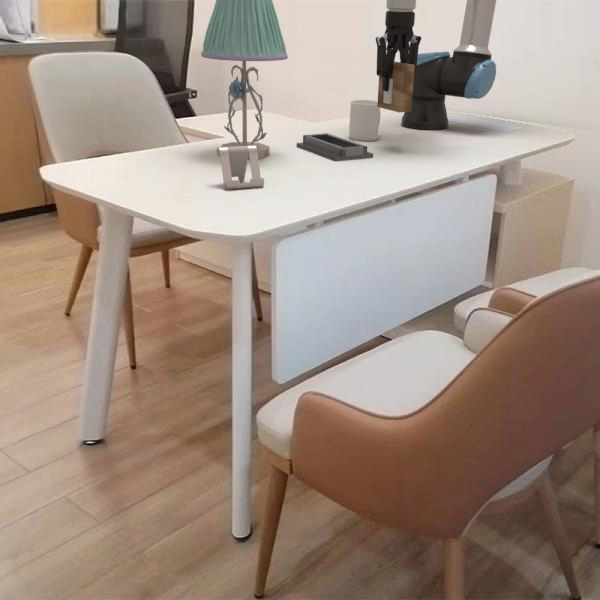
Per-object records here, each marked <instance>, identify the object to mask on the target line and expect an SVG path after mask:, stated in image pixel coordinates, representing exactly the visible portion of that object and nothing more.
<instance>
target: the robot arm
mask: <svg viewBox="0 0 600 600" xmlns="http://www.w3.org/2000/svg"><path fill="white" fill-rule="evenodd" d="M416 4H417V0H386V6H385V7H386V9H387V11H386V12H385V20H384V21H385V22H384V23H385V32H384V34H383V35H381V36H376V37H375V43H376V47H377V48H376V76H378V77H379V76H380V77H382V78H383V83H382V90H383V91H384V99H383V103H386V104H391V103H392V88H393V79H391V74H392V69H393V65H394V61H395V59H396V56H397V55H396V54H397V53H398V52H399V62H401V63H407V64H412V65H415V68H414V82H413V95H412V108H411V112H403V115H402V117H401V122H400V125H401V126H402V127H405V128H409V129H414V130H427V131H428V130H432V131H433V130H436V131H437V130H443V129H447V128H448V127H449V119H448V118H449V117H448V113H447V107H446V96H449V97H456V98H464V99H468V100H470V99H475V100H476V99H477V100H479V99H482V98H484V97H485V96H487V95H488V93H489V92H490V90H491V89H492V87H493V86H494V83H495V80H496V75H497V65H496V63H495V61H493V60H492V55H493V54H492V53H491V51H490V50H489V43H490V38H491V32H492V26H493V21H494V15H495V9H496V4H497V0H466V5H465V9H464V16H463V22H462V28H461V35H460V38H459V39H460V41H459V45H458V46H457V47H456V48H455V49H454V50H453V52H452V56H451V53H450V52H449V51H437V52H436V51H435V52H425V53H419V49H420V47H419V46H420V44H421V41H422V36H421V35H420V36H419V35H416V34H414V30H413V27H414V26H415V21H416V20H415V19H416V13H415V11H414V10H416V8H417V5H416Z"/></svg>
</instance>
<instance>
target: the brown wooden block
mask: <svg viewBox="0 0 600 600" xmlns="http://www.w3.org/2000/svg"><path fill="white" fill-rule="evenodd" d="M414 68H415V65H412V64H407V63H401V62H400V61H395V60H394V65H393V69H392V74H391V79H393V88H392V103H391V104H386V103H383V99H384V91H383V90H382V83H383V78H382V77H380V76H378V89H377V101H378V104H377V107H380V109H384V110H385V109H386V110H389V111H392V112H396V113H404V112H411V108H412V95H413V82H414Z"/></svg>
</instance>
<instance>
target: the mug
mask: <svg viewBox="0 0 600 600" xmlns="http://www.w3.org/2000/svg"><path fill="white" fill-rule="evenodd" d="M377 104H378V100H374V99H373V100H372V99H354V100H351V101H350V110H349V112H350V113H349V131H348V135H349V136H348V137H349V139H350V140H351V141H352V140H353V141H356V140H357V142H373V141H374V142H375V141H376V140H377V139H378V137H379V126H380V123H381V108H380V107H377Z"/></svg>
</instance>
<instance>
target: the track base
mask: <svg viewBox="0 0 600 600" xmlns="http://www.w3.org/2000/svg"><path fill="white" fill-rule="evenodd" d="M296 147H297V148H299V149H301V150H305V151H308V152H309V153H313V154H315V155H318V156H321V157H323V158H324V159H328V160H331V161H333V162H339V161H349V160H359V159H369V158H374V153H373V152H370V151H368V146H367V145H363V144H361V143H357V142H355V141H352V140H348V139H345V138H342V137H340V136H337V135H334V134H330V133H327V132H326V133H314V134H303V136H302V142H296Z"/></svg>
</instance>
